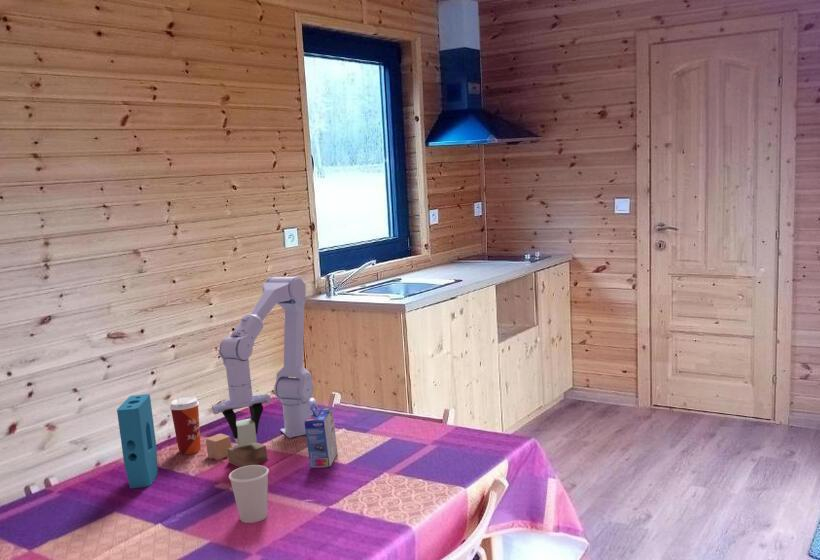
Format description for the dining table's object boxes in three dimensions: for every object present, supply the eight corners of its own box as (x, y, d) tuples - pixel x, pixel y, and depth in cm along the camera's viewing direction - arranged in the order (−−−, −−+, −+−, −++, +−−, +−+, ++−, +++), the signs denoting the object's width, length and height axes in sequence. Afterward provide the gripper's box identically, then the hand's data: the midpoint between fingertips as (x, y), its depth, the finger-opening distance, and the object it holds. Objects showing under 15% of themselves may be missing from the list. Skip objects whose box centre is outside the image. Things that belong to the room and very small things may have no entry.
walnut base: (251, 454, 202) (250, 440, 201) (267, 460, 197) (265, 445, 196) (228, 463, 197) (227, 448, 196) (244, 469, 192) (242, 454, 191)
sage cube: (251, 436, 199) (249, 418, 198) (256, 441, 195) (254, 422, 195) (234, 440, 197) (232, 422, 196) (239, 445, 193) (237, 426, 193)
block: (148, 489, 183) (137, 408, 180) (126, 491, 183) (115, 410, 180) (160, 470, 195) (150, 393, 192) (140, 471, 195) (130, 395, 192)
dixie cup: (256, 505, 170) (251, 462, 168) (281, 513, 164) (276, 469, 163) (225, 520, 163) (220, 475, 162) (250, 529, 158) (245, 483, 157)
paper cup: (199, 455, 204) (193, 404, 202) (171, 456, 204) (164, 406, 202) (208, 444, 211) (202, 395, 209) (180, 446, 212) (174, 397, 210)
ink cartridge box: (317, 453, 198) (311, 399, 196) (338, 452, 198) (333, 398, 196) (308, 468, 189) (302, 411, 187) (330, 467, 188) (325, 410, 186)
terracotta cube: (222, 451, 206) (220, 433, 205) (232, 454, 202) (230, 436, 202) (208, 456, 202) (205, 438, 202) (217, 460, 199) (215, 441, 199)
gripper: (214, 392, 187) (220, 446, 189) (272, 381, 193) (277, 433, 195) (207, 386, 193) (214, 438, 195) (263, 375, 200) (269, 425, 202)
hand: (245, 435), depth 196 cm, fingers closed on sage cube, 4 cm apart
